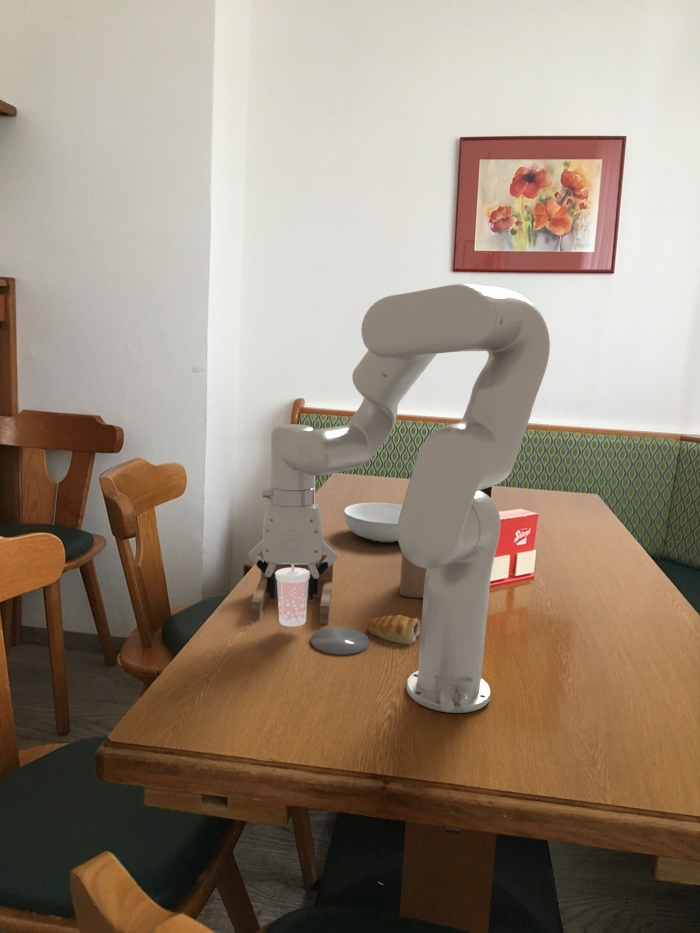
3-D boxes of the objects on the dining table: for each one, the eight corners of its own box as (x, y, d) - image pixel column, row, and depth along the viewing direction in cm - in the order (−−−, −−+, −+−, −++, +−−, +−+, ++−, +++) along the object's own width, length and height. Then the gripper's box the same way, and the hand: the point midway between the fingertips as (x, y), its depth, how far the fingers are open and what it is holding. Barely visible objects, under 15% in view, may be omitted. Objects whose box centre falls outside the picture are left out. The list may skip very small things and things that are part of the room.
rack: (328, 624, 137) (330, 577, 135) (250, 619, 137) (251, 573, 136) (331, 595, 152) (333, 552, 150) (261, 591, 152) (262, 548, 150)
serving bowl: (427, 552, 183) (429, 525, 182) (341, 547, 183) (342, 520, 182) (421, 528, 204) (422, 504, 202) (343, 524, 204) (345, 500, 202)
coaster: (368, 656, 125) (368, 653, 125) (308, 653, 125) (308, 649, 125) (368, 631, 135) (368, 628, 135) (312, 628, 135) (313, 625, 135)
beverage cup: (317, 621, 133) (317, 545, 130) (291, 631, 128) (292, 552, 126) (292, 612, 137) (293, 538, 134) (267, 621, 132) (267, 544, 130)
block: (448, 603, 150) (455, 506, 146) (398, 597, 152) (404, 501, 148) (451, 586, 160) (458, 495, 156) (405, 581, 162) (411, 490, 158)
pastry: (361, 637, 133) (362, 617, 132) (372, 624, 139) (373, 604, 138) (412, 647, 130) (414, 626, 129) (422, 633, 136) (423, 613, 135)
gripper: (239, 500, 125) (239, 603, 128) (342, 503, 125) (341, 606, 128) (246, 491, 132) (246, 589, 135) (344, 493, 132) (342, 591, 135)
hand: (292, 596), depth 131 cm, fingers closed on beverage cup, 6 cm apart
